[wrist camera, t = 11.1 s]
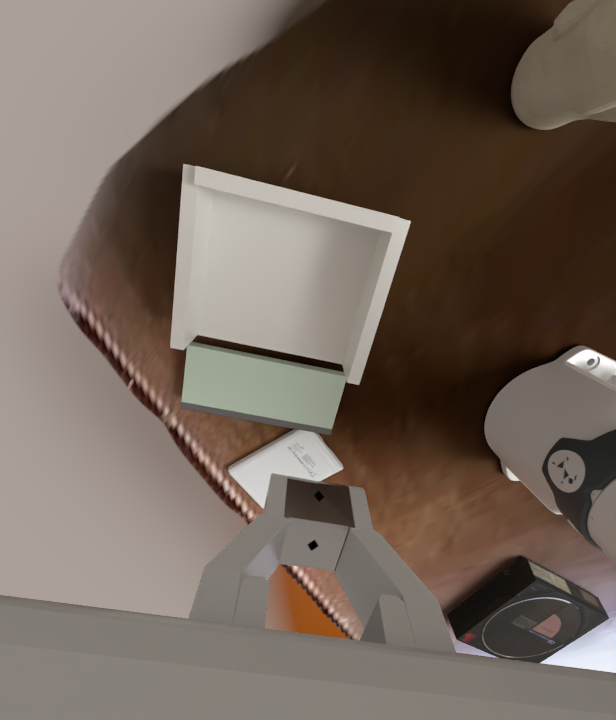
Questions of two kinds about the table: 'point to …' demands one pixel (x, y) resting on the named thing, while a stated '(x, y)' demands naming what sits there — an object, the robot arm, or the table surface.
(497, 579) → the portable cd player
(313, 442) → the external hard drive
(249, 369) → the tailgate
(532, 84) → the cream statue
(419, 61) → the table surface
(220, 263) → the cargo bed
